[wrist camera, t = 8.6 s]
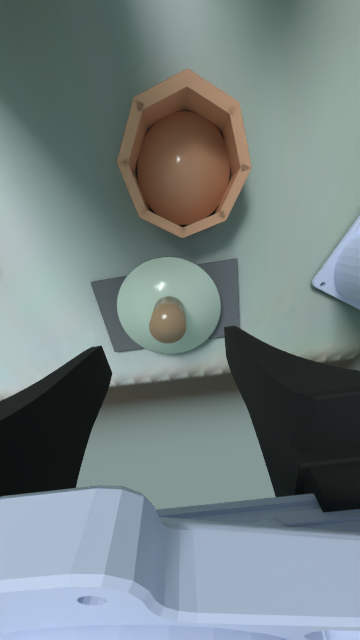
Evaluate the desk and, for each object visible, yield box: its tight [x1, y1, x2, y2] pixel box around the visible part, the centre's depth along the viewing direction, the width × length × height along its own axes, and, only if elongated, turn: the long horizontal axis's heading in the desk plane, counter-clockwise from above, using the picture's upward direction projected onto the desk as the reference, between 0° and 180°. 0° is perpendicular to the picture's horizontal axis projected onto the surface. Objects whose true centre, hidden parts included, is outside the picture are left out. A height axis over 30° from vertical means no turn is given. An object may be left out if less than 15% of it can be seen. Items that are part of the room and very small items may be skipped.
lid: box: [117, 257, 221, 354], centre depth 18 cm, size 10×10×4 cm
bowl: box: [117, 68, 251, 238], centre depth 15 cm, size 8×8×3 cm
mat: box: [91, 259, 240, 352], centre depth 20 cm, size 14×8×1 cm, turn 99°
